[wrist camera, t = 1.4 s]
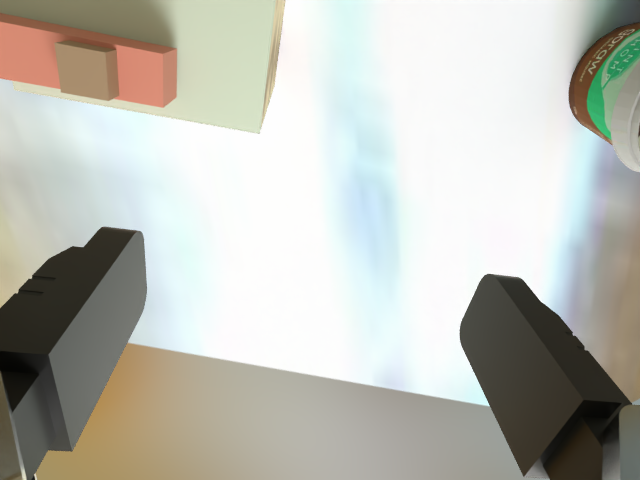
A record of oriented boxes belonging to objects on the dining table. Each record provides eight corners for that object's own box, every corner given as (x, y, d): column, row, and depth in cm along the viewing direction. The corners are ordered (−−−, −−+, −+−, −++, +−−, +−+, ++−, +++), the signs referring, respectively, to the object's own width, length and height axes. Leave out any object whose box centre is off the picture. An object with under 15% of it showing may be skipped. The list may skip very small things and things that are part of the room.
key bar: (-91, -6, 18) (-170, -7, 15) (177, 48, 20) (154, 57, 17) (-75, 51, 20) (-145, 60, 16) (176, 97, 21) (155, 114, 18)
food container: (623, -25, 32) (739, -34, 24) (676, 10, 34) (803, 13, 25) (527, 116, 38) (592, 150, 30) (576, 141, 40) (652, 180, 31)
